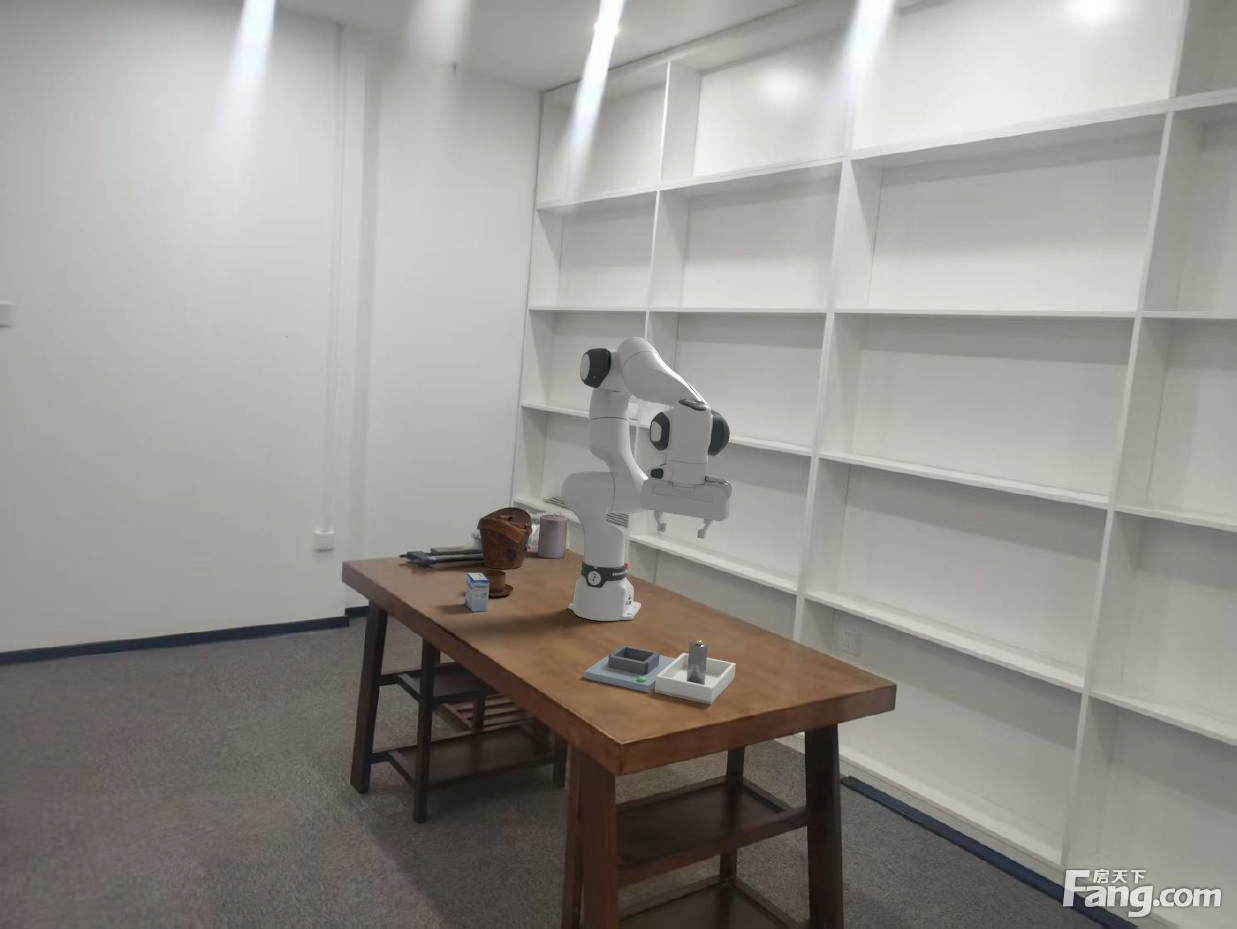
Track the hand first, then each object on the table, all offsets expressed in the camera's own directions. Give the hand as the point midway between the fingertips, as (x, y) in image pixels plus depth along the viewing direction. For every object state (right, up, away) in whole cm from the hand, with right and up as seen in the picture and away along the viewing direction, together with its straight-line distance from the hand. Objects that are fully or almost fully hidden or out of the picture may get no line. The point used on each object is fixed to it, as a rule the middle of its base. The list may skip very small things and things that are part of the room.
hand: (681, 534), depth 197 cm
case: (-52, -17, +91) cm, 106 cm away
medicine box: (-52, -23, +41) cm, 70 cm away
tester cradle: (-11, -31, 0) cm, 33 cm away
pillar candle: (-37, -16, +110) cm, 118 cm away
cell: (+3, -32, -5) cm, 32 cm away
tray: (+3, -32, -5) cm, 33 cm away
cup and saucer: (-50, -22, +56) cm, 79 cm away
